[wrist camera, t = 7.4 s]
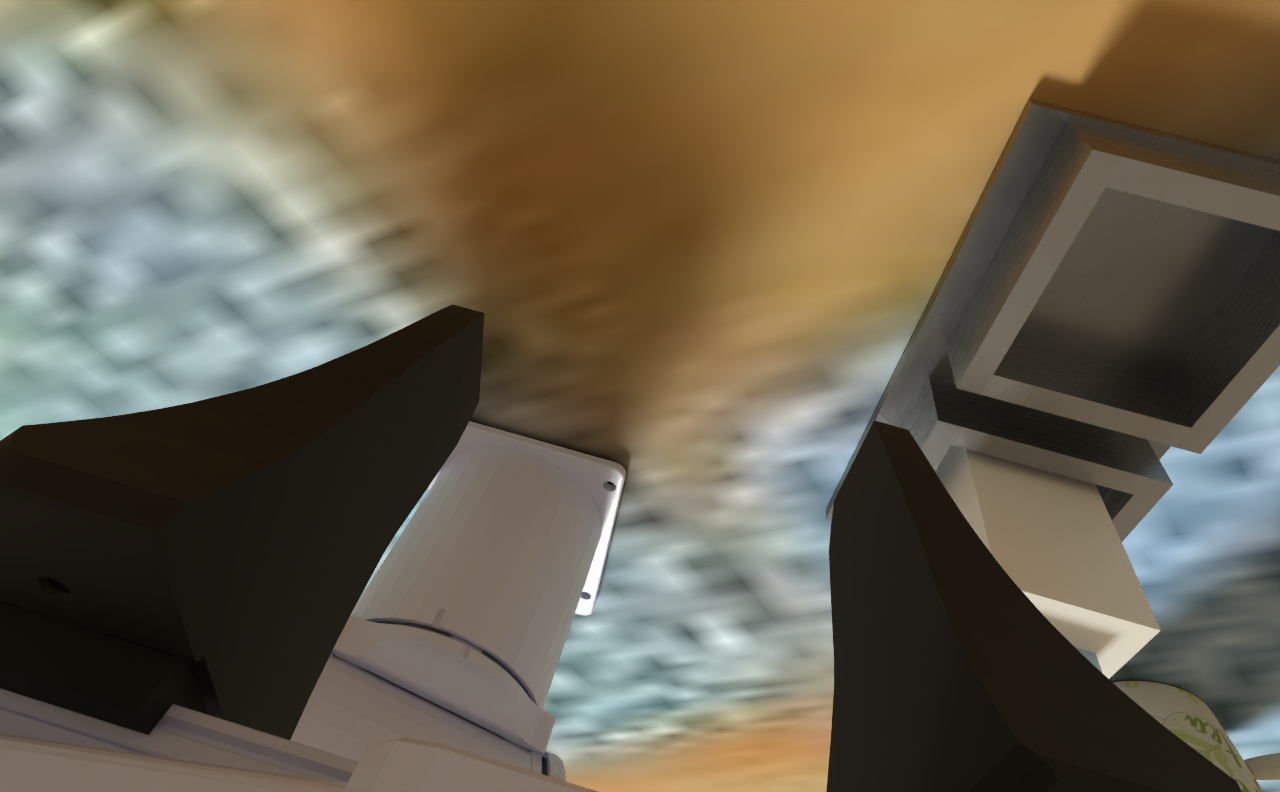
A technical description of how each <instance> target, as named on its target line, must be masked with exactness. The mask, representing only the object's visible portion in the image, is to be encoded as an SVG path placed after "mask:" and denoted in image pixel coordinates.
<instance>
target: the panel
mask: <svg viewBox="0 0 1280 792" xmlns="http://www.w3.org/2000/svg"><path fill="white" fill-rule="evenodd" d="M1279 365H1280V161H1276V160H1272V159H1268V158H1264V157H1260V156H1256V155H1251V154H1247V153H1243V152H1239V151H1235V150H1231V149H1227V148H1223V147H1219V146H1215V145H1211V144H1207V143H1203V142H1199V141H1195V140H1191V139H1187V138H1183V137H1179V136H1175V135H1170V134H1166V133H1162V132H1158V131H1154V130H1150V129H1146V128H1142V127H1138V126H1134V125H1130V124H1126V123H1122V122H1118V121H1114V120H1110V119H1106V118H1102V117H1098V116H1093V115H1089V114H1085V113H1081V112H1077V111H1073V110H1069V109H1065V108H1061V107H1057V106H1053V105H1049V104H1045V103H1041V102H1037V101H1033V100H1028V102H1027V104H1026V106H1025V108H1024V110H1023V112H1022V114H1021V116H1020V118H1019V120H1018V122H1017V124H1016V126H1015V128H1014V130H1013V132H1012V134H1011V136H1010V139H1009V141H1008V143H1007V145H1006V147H1005V149H1004V151H1003V153H1002V155H1001V157H1000V159H999V161H998V163H997V165H996V167H995V169H994V171H993V173H992V175H991V177H990V179H989V181H988V183H987V185H986V187H985V189H984V191H983V193H982V195H981V197H980V199H979V201H978V203H977V205H976V207H975V209H974V211H973V213H972V215H971V217H970V219H969V221H968V223H967V225H966V227H965V230H964V232H963V234H962V236H961V238H960V240H959V242H958V244H957V246H956V248H955V250H954V252H953V254H952V256H951V258H950V260H949V262H948V264H947V266H946V268H945V270H944V272H943V274H942V276H941V278H940V280H939V282H938V284H937V286H936V288H935V290H934V292H933V294H932V296H931V298H930V300H929V302H928V304H927V306H926V308H925V310H924V312H923V314H922V316H921V319H920V321H919V323H918V325H917V327H916V329H915V331H914V333H913V335H912V337H911V339H910V341H909V343H908V345H907V347H906V349H905V351H904V353H903V355H902V357H901V359H900V361H899V363H898V365H897V367H896V369H895V371H894V373H893V375H892V377H891V379H890V381H889V383H888V385H887V387H886V389H885V391H884V393H883V395H882V397H881V399H880V401H879V403H878V405H877V408H876V410H875V412H874V414H873V416H872V418H871V420H870V422H869V424H868V426H867V428H866V430H865V432H864V434H863V436H862V438H861V440H860V442H859V444H858V446H857V448H856V450H855V452H854V454H853V456H852V458H851V460H850V462H849V464H848V466H847V468H846V470H845V472H844V474H843V476H842V478H841V480H840V482H839V484H838V486H837V488H836V490H835V492H834V494H833V497H832V499H831V501H830V503H829V505H828V507H827V509H826V519H830V520H832V513H833V504H834V500H835V498H836V496H837V494H838V492H839V490H840V488H841V486H842V484H843V482H844V480H845V478H846V476H847V474H848V472H849V470H850V468H851V466H852V464H853V462H854V460H855V458H856V456H857V454H858V452H859V450H860V448H861V446H862V444H863V442H864V440H865V438H866V436H867V434H868V432H869V430H870V428H871V426H872V424H873V422H874V420H875V421H878V422H882V423H886V424H889V425H893V426H896V427H900V428H904V429H907V430H909V431H910V433H911V434H912V436H913V437H914V439H915V440H916V442H917V444H918V445H919V447H920V448H921V450H922V452H923V453H924V455H925V456H926V458H927V460H928V461H929V463H930V464H931V466H932V468H933V469H934V471H936V469H937V468H938V466H939V464H940V463H941V461H942V459H943V458H944V456H945V454H946V453H947V451H948V449H949V448H950V446H951V445H954V446H958V447H961V448H965V449H969V450H972V451H976V452H980V453H983V454H987V455H990V456H994V457H998V458H1001V459H1005V460H1009V461H1012V462H1016V463H1020V464H1023V465H1027V466H1031V467H1034V468H1038V469H1042V470H1045V471H1049V472H1052V473H1056V474H1060V475H1063V476H1067V477H1071V478H1074V479H1078V480H1082V481H1085V482H1089V483H1093V484H1096V486H1097V489H1098V491H1099V493H1100V495H1101V498H1102V500H1103V502H1104V504H1105V507H1106V509H1107V511H1108V513H1109V516H1110V518H1111V520H1112V522H1113V524H1114V527H1115V529H1116V531H1117V533H1118V536H1119V538H1120V540H1121V542H1122V541H1123V540H1124V539H1125V538H1126V537H1127V536H1128V535H1129V533H1130V532H1131V531H1132V530H1133V529H1134V528H1135V527H1136V526H1137V524H1138V523H1139V522H1140V521H1141V520H1142V519H1143V518H1144V517H1145V515H1146V514H1147V513H1148V512H1149V511H1150V510H1151V509H1152V508H1153V507H1154V505H1155V504H1156V503H1157V502H1158V501H1159V500H1160V499H1161V498H1162V496H1163V495H1164V494H1165V493H1166V492H1167V491H1168V490H1169V489H1170V487H1171V486H1172V485H1173V483H1172V482H1171V480H1170V478H1169V476H1168V475H1167V473H1166V471H1165V470H1164V468H1163V466H1162V464H1161V463H1160V461H1159V460H1160V458H1161V457H1162V456H1163V455H1164V454H1165V452H1166V451H1167V450H1168V449H1169V448H1170V447H1171V446H1173V447H1177V448H1180V449H1184V450H1188V451H1192V452H1195V453H1199V454H1201V453H1202V452H1203V451H1204V449H1205V448H1206V447H1207V446H1208V445H1209V444H1210V443H1211V442H1212V440H1213V439H1214V438H1215V437H1216V436H1217V435H1218V434H1219V433H1220V431H1221V430H1222V429H1223V428H1224V427H1225V426H1226V425H1227V424H1228V423H1229V421H1230V420H1231V419H1232V418H1233V417H1234V416H1235V415H1236V414H1237V412H1238V411H1239V410H1240V409H1241V408H1242V407H1243V406H1244V405H1245V403H1246V402H1247V401H1248V400H1249V399H1250V398H1251V397H1252V396H1253V394H1254V393H1255V392H1256V391H1257V390H1258V389H1259V388H1260V387H1261V386H1262V384H1263V383H1264V382H1265V381H1266V380H1267V379H1268V378H1269V377H1270V375H1271V374H1272V373H1273V372H1274V371H1275V370H1276V369H1277V368H1278V366H1279Z"/></svg>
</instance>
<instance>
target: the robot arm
mask: <svg viewBox="0 0 1280 792" xmlns="http://www.w3.org/2000/svg"><path fill="white" fill-rule="evenodd" d="M483 328H484V313H481V312H478V311H474V310H470V309H467V308H463V307H460V306H456V305H451V306H448V307H446V308H444V309H441V310H439V311H437V312H435V313H433V314H431V315H429V316H427V317H425V318H423V319H421V320H419V321H417V322H415V323H413V324H411V325H409V326H407V327H405V328H403V329H401V330H399V331H397V332H394V333H392V334H390V335H388V336H386V337H384V338H382V339H380V340H378V341H376V342H373V343H371V344H369V345H367V346H365V347H363V348H360V349H358V350H355V351H353V352H351V353H348V354H346V355H343V356H341V357H339V358H336V359H334V360H331V361H329V362H327V363H324V364H322V365H320V366H317V367H314V368H312V369H309V370H306V371H304V372H301V373H298V374H295V375H292V376H289V377H286V378H283V379H280V380H277V381H273V382H270V383H267V384H264V385H261V386H257V387H254V388H250V389H246V390H242V391H238V392H234V393H230V394H226V395H222V396H218V397H214V398H210V399H206V400H202V401H198V402H193V403H188V404H183V405H178V406H173V407H168V408H162V409H157V410H151V411H145V412H138V413H132V414H126V415H119V416H112V417H104V418H95V419H86V420H76V421H67V422H57V423H48V424H37V425H25V426H22V427H20V428H19V429H17V430H16V431H14V432H13V433H11V434H10V435H8V436H7V437H5V438H4V439H3V440H1V441H0V792H598V791H594V790H591V789H588V788H585V787H581V786H578V785H575V784H572V783H569V782H567V781H566V773H565V768H564V765H563V761H562V760H561V759H560V758H559V757H558V756H557V755H555V754H552V753H550V752H547V751H545V750H546V747H547V744H548V741H549V738H550V735H551V731H552V728H553V725H554V722H555V718H554V716H552V715H551V714H549V713H547V712H545V711H544V710H542V709H543V706H544V703H545V700H546V697H547V694H548V691H549V688H550V685H551V682H552V679H553V676H554V673H555V670H556V667H557V664H558V661H559V658H560V655H561V653H562V650H563V647H564V644H565V641H566V638H567V635H568V632H569V629H570V626H571V623H572V620H573V617H574V614H575V613H577V614H580V615H589V614H591V613H592V612H593V610H594V606H595V602H596V598H597V594H598V590H599V586H600V581H601V577H602V573H603V569H604V565H605V560H606V556H607V552H608V548H609V544H610V540H611V535H612V531H613V527H614V523H615V519H616V514H617V510H618V506H619V502H620V498H621V493H622V489H623V485H624V481H625V477H626V471H625V469H624V467H623V466H621V465H620V464H618V463H616V462H612V461H609V460H605V459H602V458H598V457H595V456H591V455H588V454H584V453H581V452H577V451H574V450H570V449H566V448H563V447H559V446H556V445H552V444H549V443H545V442H542V441H538V440H535V439H531V438H528V437H524V436H521V435H517V434H513V433H510V432H506V431H503V430H499V429H496V428H492V427H489V426H485V425H482V424H478V423H475V422H471V421H470V419H471V416H472V414H473V412H474V410H475V408H476V406H477V404H478V402H479V393H480V376H481V360H482V344H483ZM607 481H608V482H612V483H614V484H615V485H611V484H609V483H607ZM427 488H428V493H427V495H426V497H425V498H424V500H423V501H422V503H421V504H420V506H419V507H418V509H417V511H416V512H415V514H414V515H413V517H412V518H411V520H410V521H409V523H408V525H407V526H406V528H405V529H404V531H403V532H402V534H401V535H400V537H399V539H398V540H397V542H396V543H395V545H394V546H393V548H392V549H391V551H390V553H389V554H388V556H387V557H386V559H385V560H384V562H383V563H382V565H381V567H380V568H379V570H378V571H377V573H376V574H375V576H374V577H373V579H372V581H371V582H370V584H369V585H368V587H367V588H366V590H365V591H364V593H363V595H362V596H361V594H362V592H363V590H364V588H365V586H366V585H367V583H368V581H369V579H370V577H371V575H372V574H373V572H374V570H375V568H376V566H377V564H378V562H379V561H380V559H381V557H382V555H383V553H384V552H385V550H386V548H387V547H388V545H389V544H390V542H391V540H392V539H393V537H394V536H395V534H396V532H397V531H398V530H399V528H400V527H401V525H402V524H403V522H404V521H405V520H406V518H407V517H408V515H409V514H410V512H411V511H412V509H413V508H414V507H415V505H416V504H417V502H418V501H419V499H420V498H421V497H422V495H423V494H424V492H425V491H426V489H427ZM829 560H830V584H831V605H832V625H833V645H834V699H833V715H832V731H831V745H830V757H829V769H828V781H827V792H1242V791H1241V789H1240V787H1239V785H1238V783H1237V781H1235V780H1234V779H1233V778H1231V777H1230V776H1229V775H1227V774H1226V773H1225V772H1224V771H1222V770H1221V769H1220V768H1218V767H1217V766H1216V765H1214V764H1213V763H1212V762H1210V761H1209V760H1208V759H1206V758H1205V757H1204V756H1203V755H1201V754H1200V753H1199V752H1197V751H1196V750H1195V749H1193V748H1192V747H1191V746H1189V745H1188V744H1187V743H1185V742H1184V741H1183V740H1182V739H1180V738H1179V737H1178V736H1176V735H1175V734H1174V733H1172V732H1171V731H1170V730H1168V729H1167V728H1166V727H1164V726H1163V725H1162V724H1161V723H1160V722H1158V721H1157V720H1156V719H1155V718H1153V717H1152V716H1151V715H1150V714H1149V713H1148V712H1146V711H1145V710H1144V709H1143V708H1142V707H1141V706H1139V705H1138V704H1137V703H1136V702H1135V701H1133V700H1132V699H1131V698H1130V697H1129V696H1128V695H1126V694H1125V693H1124V692H1123V691H1122V690H1121V689H1119V688H1118V687H1117V686H1116V685H1115V684H1114V683H1113V682H1112V681H1110V680H1109V679H1108V678H1107V677H1106V676H1105V675H1104V674H1103V673H1102V672H1100V671H1099V670H1098V669H1097V668H1096V667H1095V666H1094V665H1093V664H1092V663H1091V662H1090V661H1089V660H1088V659H1087V658H1086V657H1085V656H1084V655H1082V654H1081V653H1080V652H1079V651H1078V650H1077V649H1076V648H1075V647H1074V646H1073V645H1072V644H1071V643H1070V642H1069V641H1068V640H1067V639H1066V638H1065V637H1064V636H1063V635H1062V634H1061V633H1060V632H1059V631H1058V630H1057V629H1056V628H1055V627H1054V626H1053V625H1052V624H1051V623H1050V622H1049V621H1048V620H1047V618H1046V617H1045V616H1044V615H1043V614H1042V613H1041V612H1040V611H1039V610H1038V609H1037V608H1036V606H1035V605H1034V604H1033V603H1032V602H1031V601H1030V600H1029V598H1028V597H1027V596H1026V595H1025V594H1024V593H1023V592H1022V591H1021V589H1020V588H1019V587H1018V586H1017V585H1016V584H1015V583H1014V581H1013V580H1012V579H1011V578H1010V577H1009V575H1008V574H1007V573H1006V572H1005V571H1004V569H1003V568H1002V567H1001V566H1000V564H999V563H998V562H997V560H996V559H995V558H994V556H993V555H992V554H991V552H990V551H989V550H988V549H987V547H986V546H985V545H984V543H983V542H982V541H981V539H980V538H979V537H978V535H977V534H976V532H975V531H974V530H973V528H972V527H971V525H970V524H969V523H968V521H967V520H966V518H965V517H964V515H963V514H962V512H961V511H960V509H959V508H958V506H957V505H956V503H955V502H954V500H953V499H952V497H951V496H950V494H949V493H948V491H947V490H946V488H945V487H944V485H943V483H942V482H941V480H940V479H939V477H938V476H937V474H936V472H935V471H934V469H933V468H932V466H931V464H930V463H929V461H928V460H927V458H926V456H925V455H924V453H923V452H922V450H921V448H920V447H919V445H918V444H917V442H916V440H915V439H914V437H913V436H912V434H911V433H910V431H909V430H907V429H904V428H900V427H896V426H893V425H889V424H886V423H882V422H878V421H875V420H874V422H873V424H872V426H871V428H870V430H869V432H868V434H867V436H866V438H865V440H864V442H863V444H862V446H861V448H860V450H859V452H858V454H857V456H856V458H855V460H854V462H853V464H852V466H851V468H850V470H849V472H848V474H847V476H846V478H845V480H844V482H843V484H842V486H841V488H840V490H839V492H838V494H837V496H836V498H835V500H834V504H833V513H832V523H831V534H830V546H829ZM360 596H361V598H360ZM359 598H360V599H359ZM358 600H359V601H358ZM357 601H358V602H357ZM356 603H357V604H356Z"/></svg>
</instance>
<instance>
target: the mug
mask: <svg viewBox="0 0 1280 792" xmlns="http://www.w3.org/2000/svg"><path fill="white" fill-rule="evenodd" d="M1113 683H1114V684H1115V685H1116V686H1117V687H1118V688H1119V689H1121V690H1122V691H1123V692H1124V693H1125V694H1126V695H1128V696H1129V697H1130V698H1131V699H1132V700H1133V701H1135V702H1136V703H1137V704H1138V705H1139V706H1141V707H1142V708H1143V709H1144V710H1145V711H1146V712H1148V713H1149V714H1150V715H1151V716H1152V717H1153V718H1155V719H1156V720H1157V721H1158V722H1160V723H1161V724H1162V725H1163V726H1164V727H1166V728H1167V729H1168V730H1170V731H1171V732H1172V733H1174V734H1175V735H1176V736H1178V737H1179V738H1180V739H1182V740H1183V741H1184V742H1185V743H1187V744H1188V745H1189V746H1191V747H1192V748H1193V749H1195V750H1196V751H1197V752H1199V753H1200V754H1201V755H1203V756H1204V757H1205V758H1206V759H1208V760H1209V761H1210V762H1212V763H1213V764H1214V765H1216V766H1217V767H1218V768H1220V769H1221V770H1222V771H1224V772H1225V773H1226V774H1227V775H1229V776H1230V777H1231V778H1233V779H1234V780H1235V781H1237V783H1238V785H1239V787H1240V789H1241V791H1242V792H1263V790H1262V789H1261V787H1260V785H1259V784H1258V782H1257V781H1256V779H1258V780H1276V779H1280V753H1276V754H1269V755H1263V756H1258V757H1254V758H1250V759H1246V760H1243V759H1242V757H1241V756H1240V754H1239V753H1238V751H1237V749H1236V748H1235V746H1234V745H1233V743H1232V742H1231V740H1230V739H1229V737H1228V735H1227V734H1226V732H1225V731H1224V729H1223V728H1222V726H1221V725H1220V723H1219V721H1218V720H1217V718H1216V717H1215V715H1214V714H1213V713H1212V711H1211V710H1210V709H1209V707H1208V706H1207V705H1206V704H1205V703H1204V702H1203V701H1202V700H1200V699H1199V698H1198V697H1196V696H1194V695H1193V694H1191V693H1189V692H1187V691H1185V690H1182V689H1180V688H1177V687H1174V686H1170V685H1166V684H1161V683H1155V682H1147V681H1118V682H1113Z"/></svg>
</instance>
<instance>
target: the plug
mask: <svg viewBox="0 0 1280 792" xmlns="http://www.w3.org/2000/svg"><path fill="white" fill-rule="evenodd" d="M935 472H936V474H937V476H938V477H939V479H940V480H941V482H942V483H943V485H944V487H945V488H946V490H947V491H948V493H949V494H950V496H951V497H952V499H953V500H954V502H955V503H956V505H957V506H958V508H959V509H960V511H961V512H962V514H963V515H964V517H965V518H966V520H967V521H968V523H969V524H970V525H971V527H972V528H973V530H974V531H975V532H976V534H977V535H978V537H979V538H980V539H981V541H982V542H983V543H984V545H985V546H986V547H987V549H988V550H989V551H990V552H991V554H992V555H993V556H994V558H995V559H996V560H997V562H998V563H999V564H1000V566H1001V567H1002V568H1003V569H1004V571H1005V572H1006V573H1007V574H1008V575H1009V577H1010V578H1011V579H1012V580H1013V581H1014V583H1015V584H1016V585H1017V586H1018V587H1019V588H1020V589H1021V591H1022V592H1023V593H1024V594H1025V595H1026V596H1027V597H1028V598H1029V600H1030V601H1031V602H1032V603H1033V604H1034V605H1035V606H1036V608H1037V609H1038V610H1039V611H1040V612H1041V613H1042V614H1043V615H1044V616H1045V617H1046V618H1047V620H1048V621H1049V622H1050V623H1051V624H1052V625H1053V626H1054V627H1055V628H1056V629H1057V630H1058V631H1059V632H1060V633H1061V634H1062V635H1063V636H1064V637H1065V638H1066V639H1067V640H1068V641H1069V642H1070V643H1071V644H1072V645H1073V646H1074V647H1075V648H1076V649H1077V650H1078V651H1079V652H1080V653H1081V654H1082V655H1084V656H1085V657H1086V658H1087V659H1088V660H1089V661H1090V662H1091V663H1092V664H1093V665H1094V666H1095V667H1096V668H1097V669H1098V670H1099V671H1100V672H1102V673H1103V674H1104V675H1105V676H1106V677H1107V678H1108V679H1109V678H1110V677H1112V676H1113V675H1114V674H1115V673H1116V672H1117V671H1118V670H1119V669H1120V668H1121V667H1122V666H1123V665H1124V664H1125V663H1127V662H1128V661H1129V660H1130V659H1131V658H1132V657H1133V656H1134V655H1135V654H1136V653H1137V652H1138V651H1139V650H1140V649H1142V648H1143V647H1144V646H1145V645H1146V644H1147V643H1148V642H1149V641H1150V640H1151V639H1152V638H1153V637H1154V636H1155V635H1157V634H1158V633H1159V632H1160V631H1161V630H1160V628H1159V625H1158V623H1157V621H1156V619H1155V617H1154V614H1153V612H1152V610H1151V608H1150V605H1149V603H1148V601H1147V599H1146V596H1145V594H1144V592H1143V590H1142V587H1141V585H1140V583H1139V581H1138V578H1137V576H1136V574H1135V572H1134V569H1133V567H1132V565H1131V563H1130V560H1129V558H1128V556H1127V554H1126V551H1125V549H1124V547H1123V545H1122V542H1121V540H1120V538H1119V536H1118V533H1117V531H1116V529H1115V527H1114V524H1113V522H1112V520H1111V518H1110V516H1109V513H1108V511H1107V509H1106V507H1105V504H1104V502H1103V500H1102V498H1101V495H1100V493H1099V491H1098V489H1097V486H1096V484H1093V483H1089V482H1085V481H1082V480H1078V479H1074V478H1071V477H1067V476H1063V475H1060V474H1056V473H1052V472H1049V471H1045V470H1042V469H1038V468H1034V467H1031V466H1027V465H1023V464H1020V463H1016V462H1012V461H1009V460H1005V459H1001V458H998V457H994V456H990V455H987V454H983V453H980V452H976V451H972V450H969V449H965V448H961V447H958V446H954V445H951V446H950V448H949V449H948V451H947V453H946V454H945V456H944V458H943V459H942V461H941V463H940V464H939V466H938V468H937V469H936V471H935Z"/></svg>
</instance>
